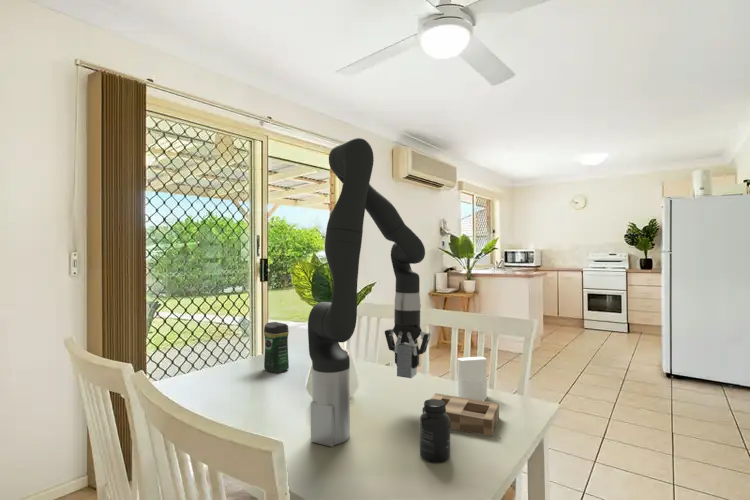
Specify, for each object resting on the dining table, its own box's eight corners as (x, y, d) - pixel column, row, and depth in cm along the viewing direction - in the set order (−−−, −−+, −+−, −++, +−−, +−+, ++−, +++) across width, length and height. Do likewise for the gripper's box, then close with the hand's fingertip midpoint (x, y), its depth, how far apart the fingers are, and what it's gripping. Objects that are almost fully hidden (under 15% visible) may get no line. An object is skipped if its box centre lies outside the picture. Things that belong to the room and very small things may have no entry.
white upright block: (465, 403, 118) (464, 363, 118) (453, 392, 127) (452, 355, 127) (492, 400, 120) (491, 361, 120) (478, 390, 129) (478, 354, 129)
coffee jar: (292, 370, 152) (292, 322, 152) (274, 374, 146) (274, 325, 146) (278, 365, 158) (278, 319, 158) (260, 369, 153) (260, 322, 153)
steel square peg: (411, 378, 110) (411, 346, 111) (396, 376, 112) (397, 344, 113) (416, 374, 114) (416, 343, 115) (402, 372, 116) (402, 342, 116)
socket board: (491, 436, 96) (491, 420, 96) (422, 422, 104) (422, 408, 104) (498, 417, 107) (498, 403, 107) (435, 406, 115) (435, 393, 115)
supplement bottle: (456, 461, 85) (455, 406, 85) (427, 466, 83) (427, 410, 83) (442, 446, 92) (441, 395, 92) (415, 451, 90) (414, 398, 90)
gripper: (379, 307, 114) (379, 366, 113) (426, 311, 107) (426, 373, 107) (390, 305, 120) (389, 360, 120) (434, 307, 114) (434, 366, 114)
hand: (406, 366), depth 113 cm, fingers closed on steel square peg, 4 cm apart
